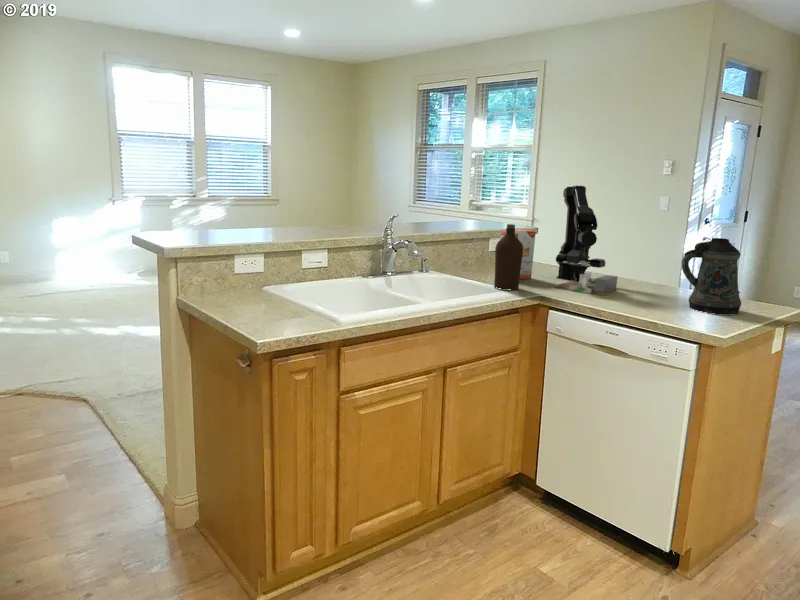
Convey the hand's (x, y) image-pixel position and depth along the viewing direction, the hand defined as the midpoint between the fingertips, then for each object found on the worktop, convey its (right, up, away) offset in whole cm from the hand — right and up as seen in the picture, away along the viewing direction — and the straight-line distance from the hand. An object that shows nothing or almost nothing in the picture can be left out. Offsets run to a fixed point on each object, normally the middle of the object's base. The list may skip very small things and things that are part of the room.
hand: (577, 281), depth 244 cm
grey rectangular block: (+9, -3, -7) cm, 12 cm away
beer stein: (+37, -11, -31) cm, 50 cm away
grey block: (+3, -2, -3) cm, 5 cm away
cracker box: (-22, +2, +18) cm, 29 cm away
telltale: (+1, -3, -7) cm, 8 cm away
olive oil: (-30, -3, -5) cm, 30 cm away
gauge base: (+3, -3, -2) cm, 4 cm away
